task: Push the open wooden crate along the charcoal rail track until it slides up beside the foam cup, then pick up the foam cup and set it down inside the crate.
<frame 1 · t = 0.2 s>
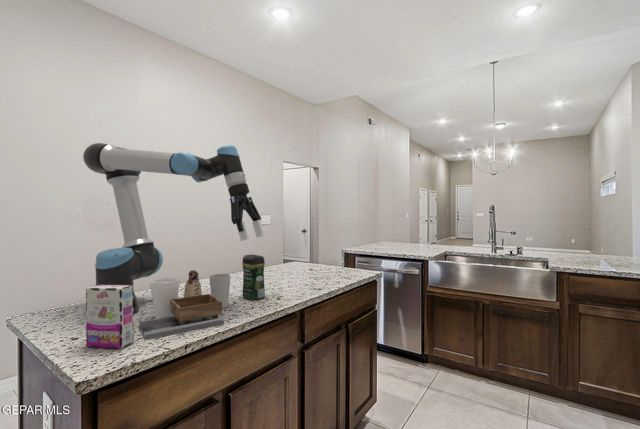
hand: (253, 238, 125), 27 cm above the worktop, tool tilted 15°, fingers open, 13 cm apart
cup: (220, 306, 128), on the worktop
open wooden crate: (195, 308, 110), point 5 cm above the worktop, slide at 0.0 cm
figurine: (193, 298, 142), on the worktop
coffee jar: (253, 298, 141), on the worktop
candy bar box: (110, 345, 91), on the worktop
foam cup: (165, 317, 116), on the worktop
rail track: (181, 325, 107), on the worktop
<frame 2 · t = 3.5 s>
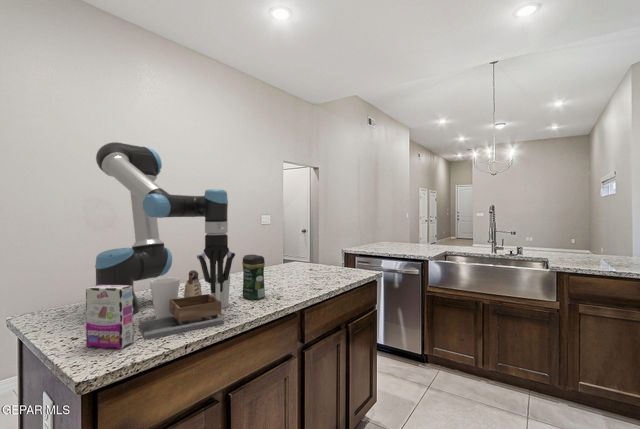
hand: (216, 301, 114), 6 cm above the worktop, tool pointing down, fingers closed
open wooden crate: (195, 308, 109), point 5 cm above the worktop, slide at 0.2 cm, touching gripper
everything else where it was.
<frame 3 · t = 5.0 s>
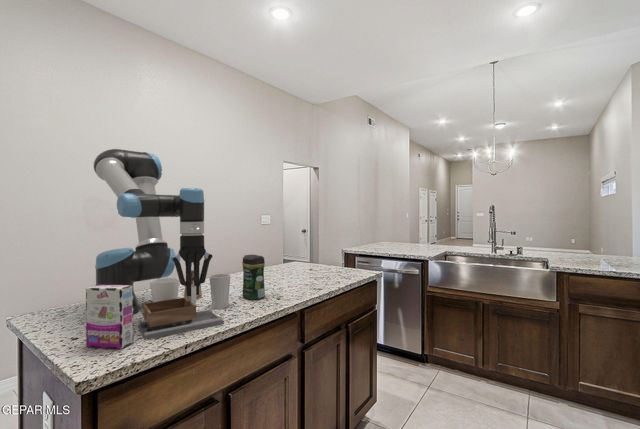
hand: (192, 305, 109), 6 cm above the worktop, tool pointing down, fingers closed
open wooden crate: (169, 312, 105), point 5 cm above the worktop, slide at 8.3 cm, touching gripper
everything else where it was.
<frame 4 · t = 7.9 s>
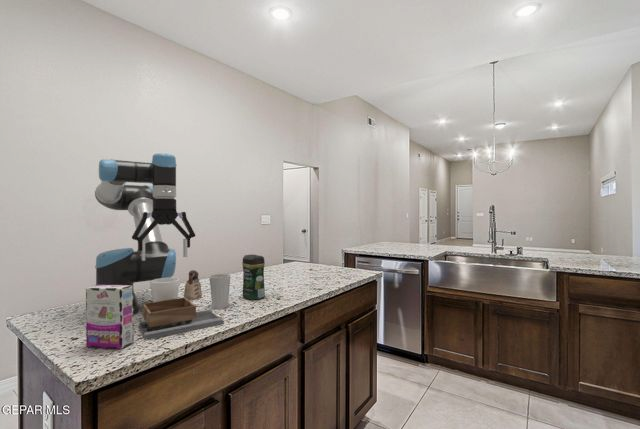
hand: (165, 258, 115), 21 cm above the worktop, tool pointing down, fingers open, 13 cm apart
open wooden crate: (168, 312, 105), point 5 cm above the worktop, slide at 8.3 cm
everything else where it was.
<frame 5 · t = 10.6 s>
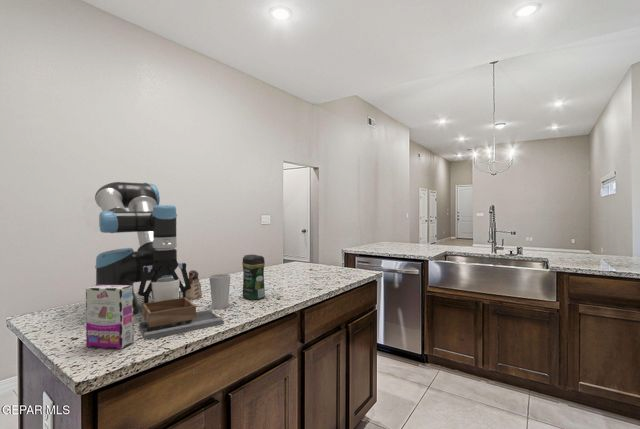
hand: (165, 312, 116), 2 cm above the worktop, tool pointing down, fingers closed on foam cup, 9 cm apart
foam cup: (165, 317, 116), on the worktop, touching gripper
everything else where it was.
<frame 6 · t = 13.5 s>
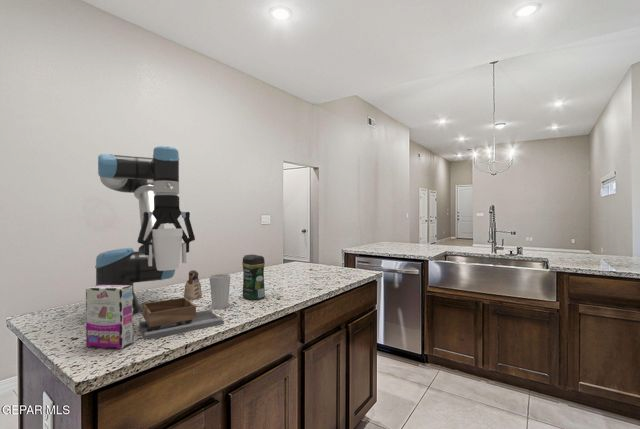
hand: (167, 264, 106), 20 cm above the worktop, tool pointing down, fingers closed on foam cup, 9 cm apart
foam cup: (167, 269, 106), point 18 cm above the worktop, touching gripper
everything else where it was.
when the fingers open (8 cm above the worktop, at t = 16.8 s): foam cup drops 2 cm, resting on open wooden crate.
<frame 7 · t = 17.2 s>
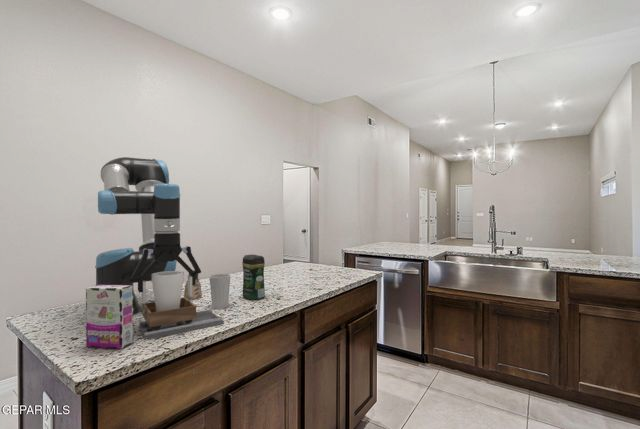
hand: (167, 299, 104), 9 cm above the worktop, tool pointing down, fingers open, 13 cm apart
open wooden crate: (169, 312, 105), point 5 cm above the worktop, slide at 8.3 cm, touching foam cup
foam cup: (168, 314, 105), point 4 cm above the worktop, touching open wooden crate
everything else where it was.
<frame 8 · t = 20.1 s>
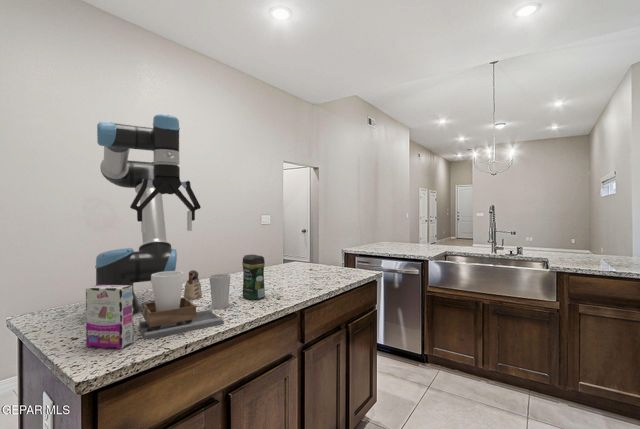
hand: (167, 231, 104), 31 cm above the worktop, tool pointing down, fingers open, 13 cm apart
nothing on the worktop moved.
at the end: foam cup 0.3 cm off-centre on the open wooden crate, point 4.1 cm above the open wooden crate's base; open wooden crate slide at 8.3 cm; foam cup tilted 0° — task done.
